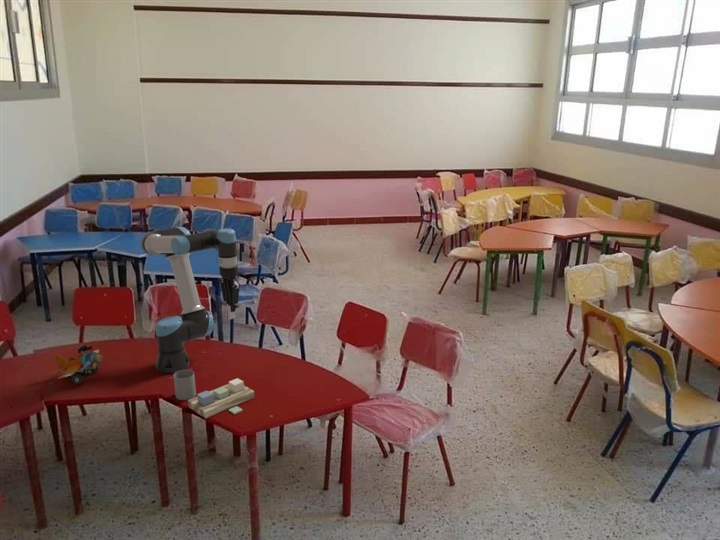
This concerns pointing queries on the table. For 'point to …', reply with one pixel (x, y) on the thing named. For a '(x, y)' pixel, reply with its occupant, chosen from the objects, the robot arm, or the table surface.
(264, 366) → the table surface
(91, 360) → the toy airplane
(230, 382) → the button cream
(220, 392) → the button sage
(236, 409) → the tile
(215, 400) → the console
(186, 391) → the cup
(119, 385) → the table surface
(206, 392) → the button blue
